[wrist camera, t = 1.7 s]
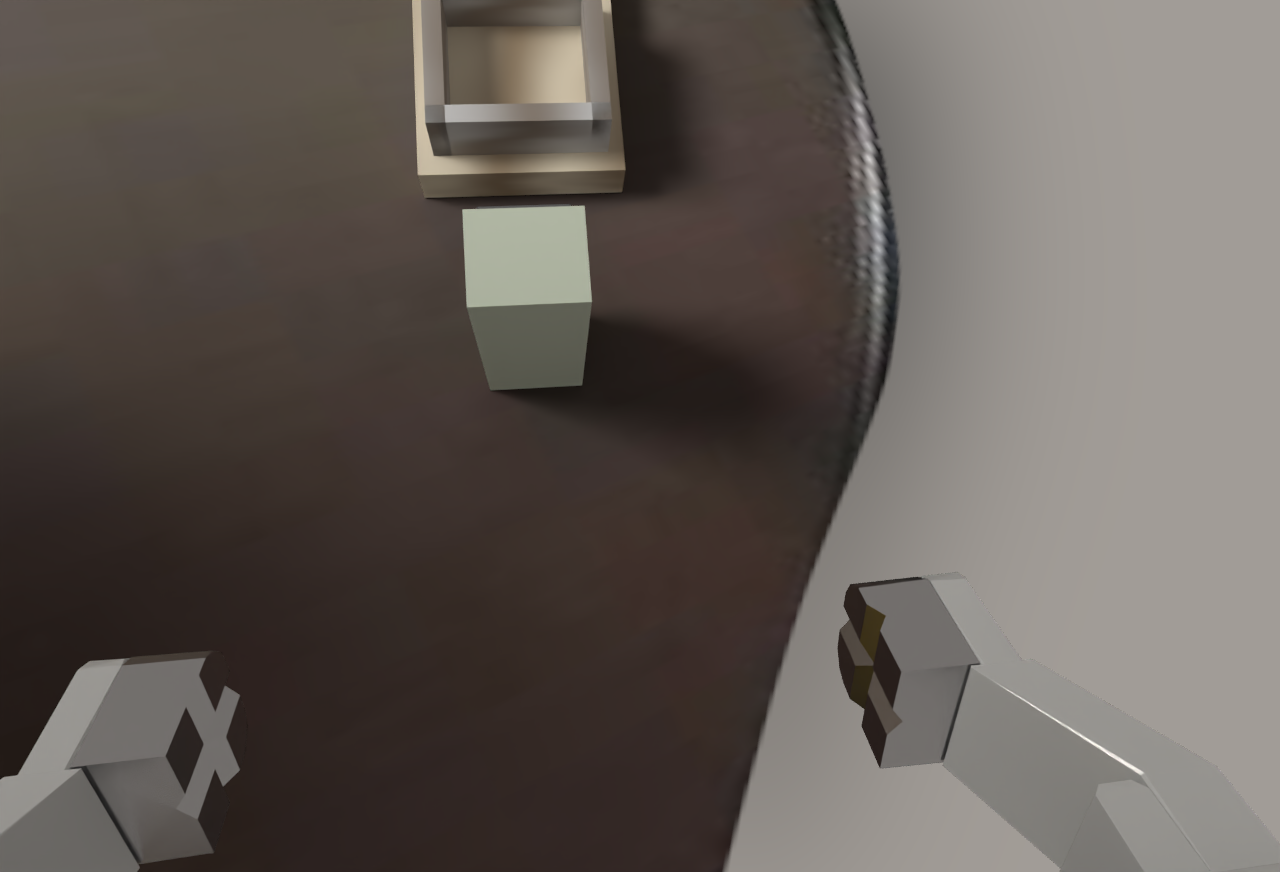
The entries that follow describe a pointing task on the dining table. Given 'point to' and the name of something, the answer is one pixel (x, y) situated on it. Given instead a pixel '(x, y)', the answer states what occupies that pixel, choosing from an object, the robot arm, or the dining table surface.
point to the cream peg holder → (516, 98)
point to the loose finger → (528, 293)
